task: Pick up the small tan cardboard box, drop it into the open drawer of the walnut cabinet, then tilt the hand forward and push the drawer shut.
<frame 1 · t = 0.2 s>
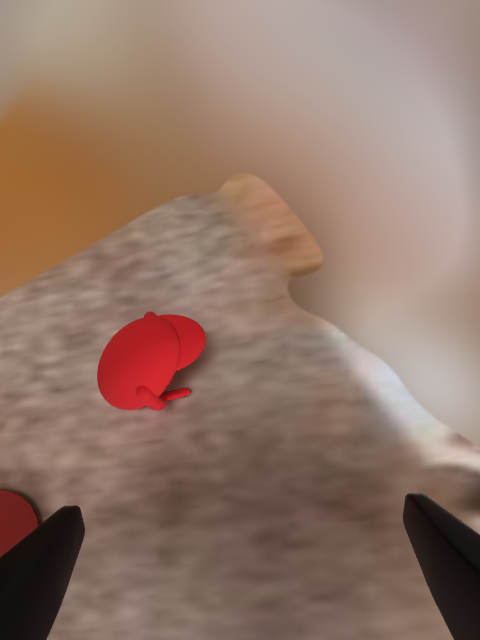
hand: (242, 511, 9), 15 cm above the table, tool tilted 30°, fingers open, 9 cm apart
cap: (164, 368, 25), on the table
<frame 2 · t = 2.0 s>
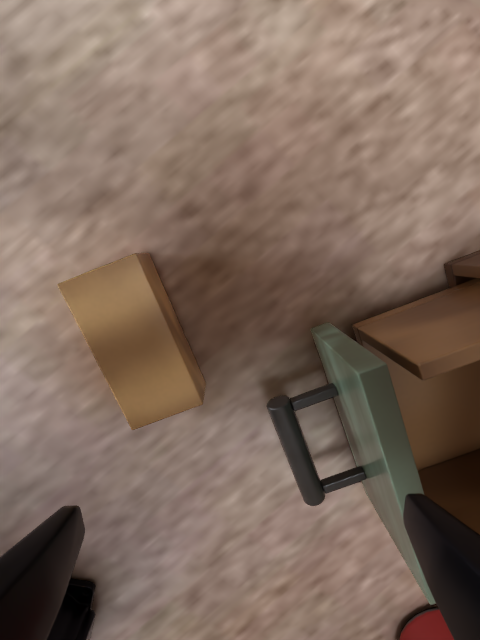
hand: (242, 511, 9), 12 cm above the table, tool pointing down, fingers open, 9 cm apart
tan cardboard box: (146, 334, 20), on the table
beer can: (431, 630, 27), on the table
drawer: (445, 421, 17), point 4 cm above the table, slide at 8.0 cm
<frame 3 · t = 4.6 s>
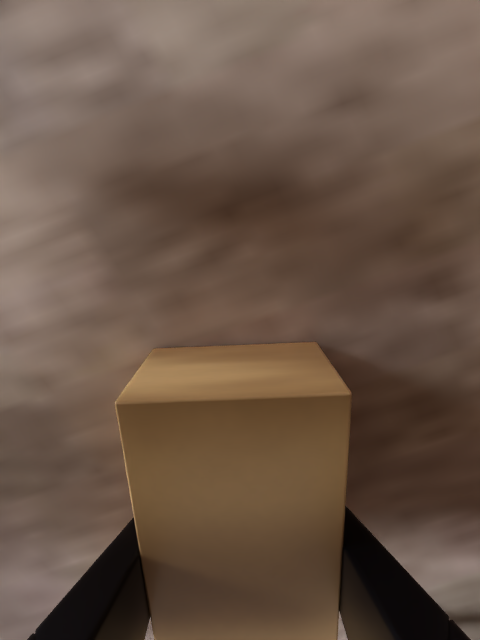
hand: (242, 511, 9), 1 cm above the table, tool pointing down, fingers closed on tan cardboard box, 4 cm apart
tan cardboard box: (241, 482, 10), on the table, touching gripper
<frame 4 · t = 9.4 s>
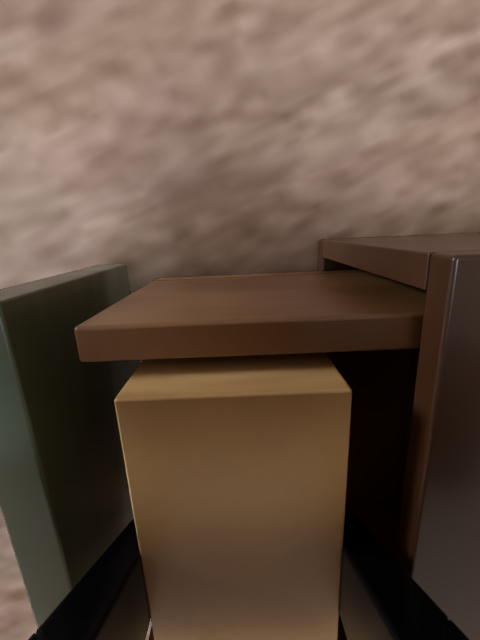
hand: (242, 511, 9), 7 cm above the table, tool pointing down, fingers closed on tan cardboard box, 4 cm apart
cabinet: (463, 380, 15), on the table
tan cardboard box: (241, 481, 10), point 6 cm above the table, touching gripper
drawer: (214, 451, 11), point 4 cm above the table, slide at 8.0 cm
when the fingers open (9 cm above the table, at t = 20.7 s): tan cardboard box drops 6 cm, resting on drawer.
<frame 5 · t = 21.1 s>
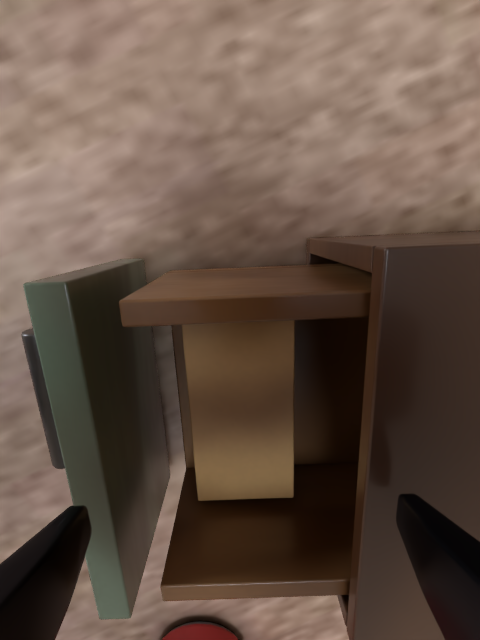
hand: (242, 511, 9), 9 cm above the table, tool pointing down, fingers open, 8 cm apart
cabinet: (433, 360, 18), on the table
tan cardboard box: (241, 382, 16), point 2 cm above the table, touching drawer
drawer: (218, 412, 14), point 4 cm above the table, slide at 8.0 cm, touching tan cardboard box
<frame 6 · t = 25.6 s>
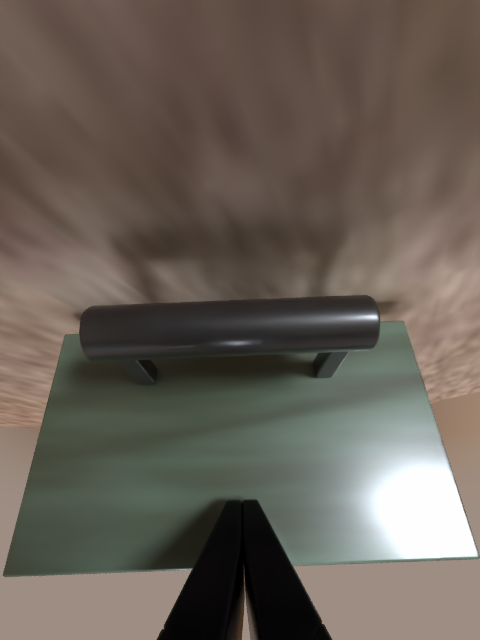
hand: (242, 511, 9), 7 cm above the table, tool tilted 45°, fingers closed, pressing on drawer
drawer: (240, 446, 14), point 4 cm above the table, slide at 7.2 cm, touching tan cardboard box, gripper
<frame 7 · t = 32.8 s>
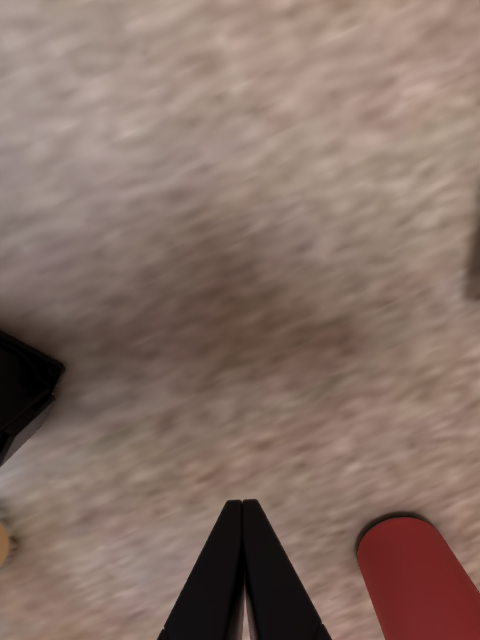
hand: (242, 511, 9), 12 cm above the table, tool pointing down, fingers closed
beer can: (395, 542, 25), on the table
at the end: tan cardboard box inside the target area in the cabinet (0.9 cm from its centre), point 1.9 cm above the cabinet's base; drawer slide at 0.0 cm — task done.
